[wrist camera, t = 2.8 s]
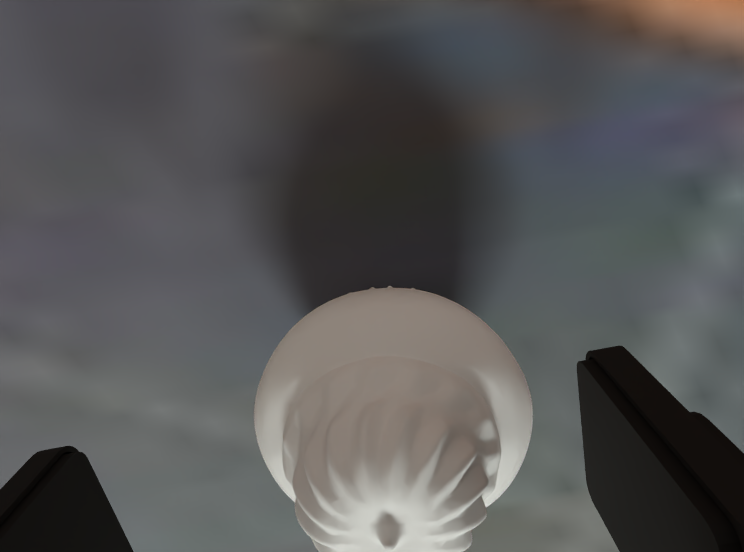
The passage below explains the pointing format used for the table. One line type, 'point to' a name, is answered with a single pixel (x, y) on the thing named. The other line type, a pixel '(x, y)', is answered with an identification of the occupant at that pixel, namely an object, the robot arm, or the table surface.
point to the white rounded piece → (392, 421)
